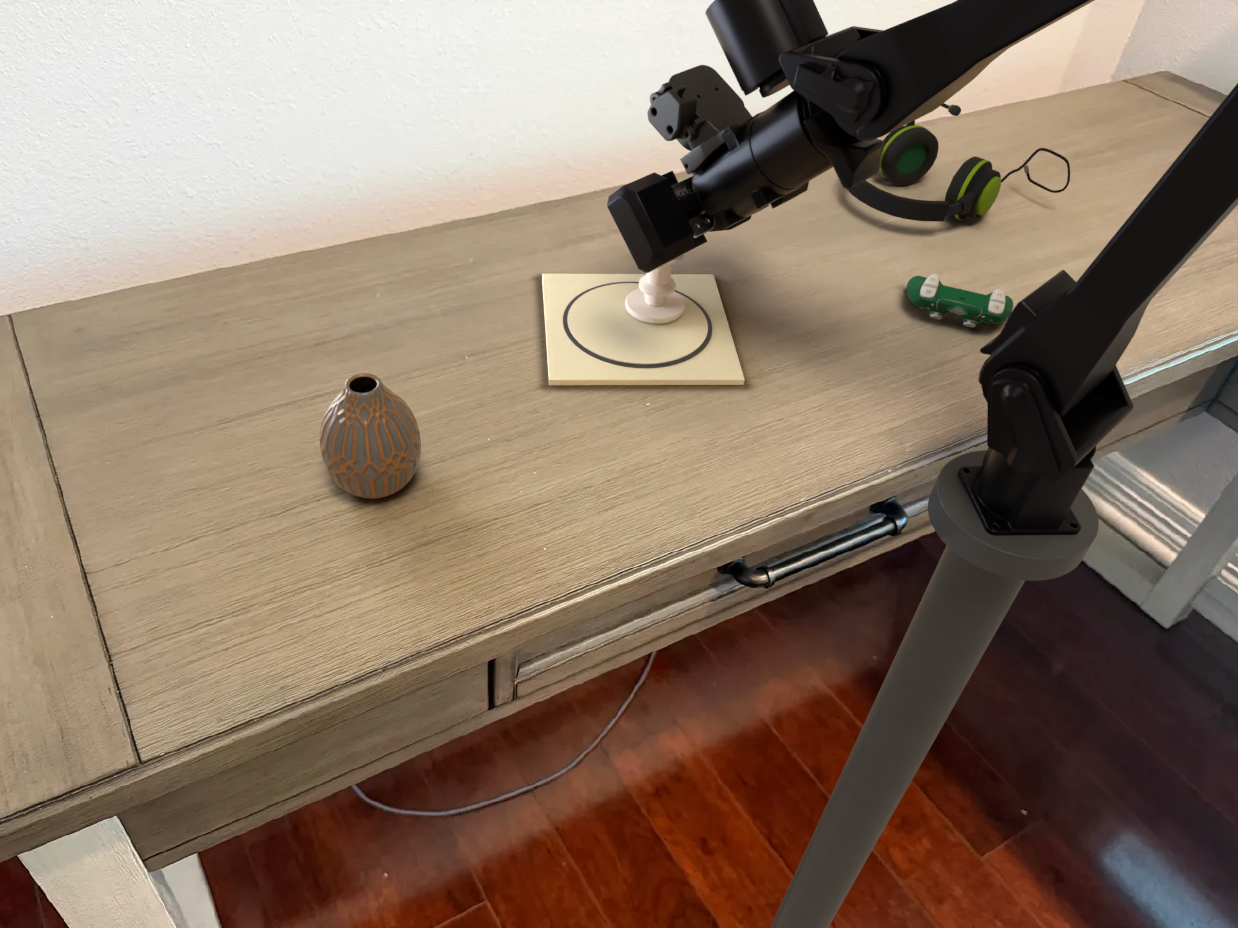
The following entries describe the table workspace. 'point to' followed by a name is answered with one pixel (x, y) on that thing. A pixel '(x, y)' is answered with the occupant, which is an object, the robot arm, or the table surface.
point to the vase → (369, 439)
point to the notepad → (635, 334)
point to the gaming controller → (958, 301)
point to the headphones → (914, 156)
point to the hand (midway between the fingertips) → (650, 233)
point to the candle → (656, 297)
